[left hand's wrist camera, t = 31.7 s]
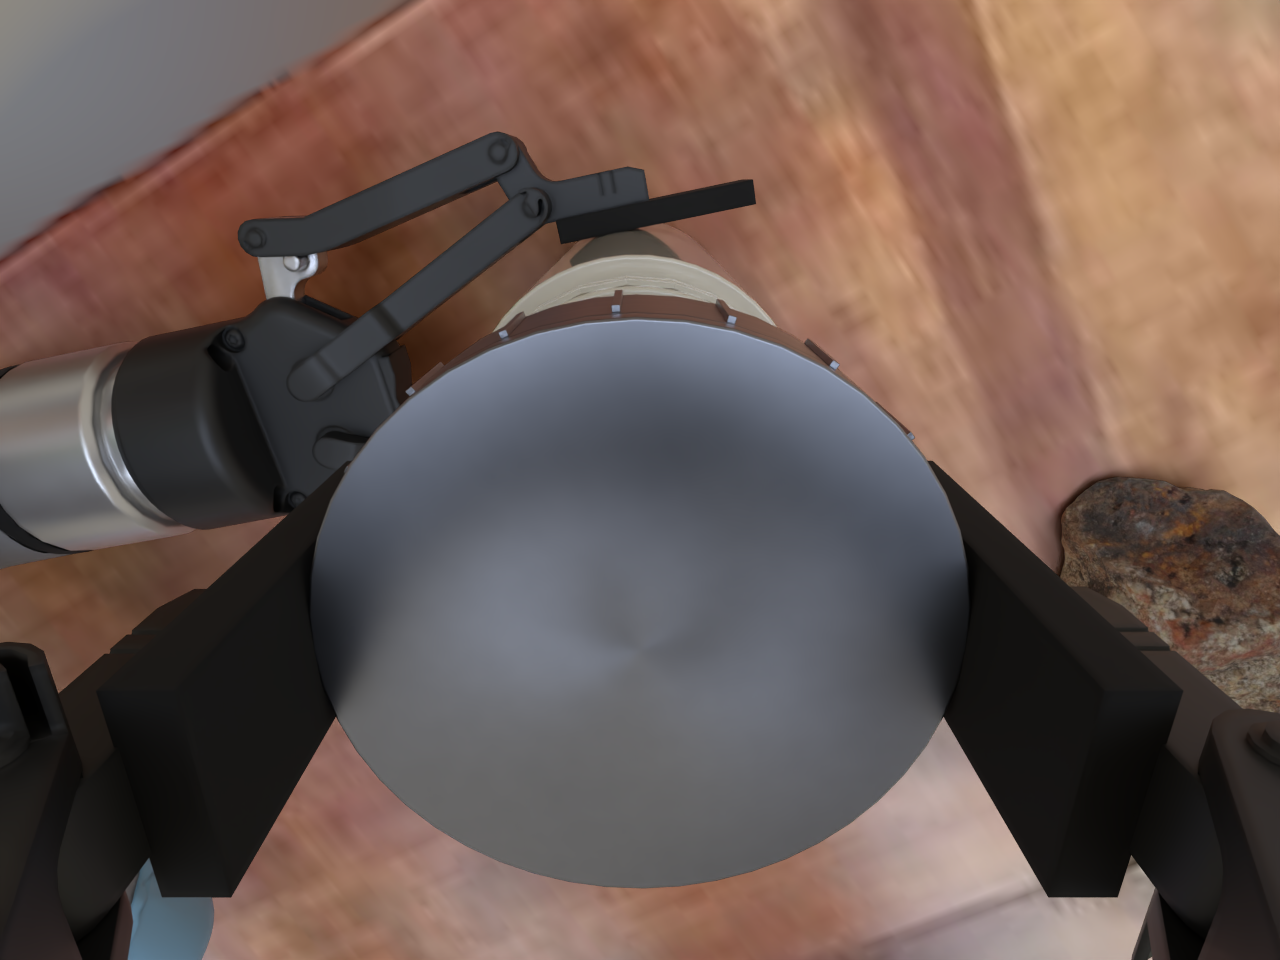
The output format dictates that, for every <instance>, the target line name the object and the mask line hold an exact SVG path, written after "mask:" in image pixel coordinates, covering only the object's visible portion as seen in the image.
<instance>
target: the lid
mask: <svg viewBox="0 0 1280 960" xmlns="http://www.w3.org/2000/svg"><path fill="white" fill-rule="evenodd" d="M839 365H840V364H839V363H838V362H837V361H835V360H834V359H833V358H832V357H831V356H829V355H828V354H827V353H826V352H825V351H824V350H822V349H821V348H820V347H819V346H818V345H817V344H815V343H814V342H813V341H812V340H810V339H807V340H806V342H805V343H803V342H802V341H801V340H799V339H798V338H796V337H795V336H793V335H791V334H789V333H787V332H785V331H783V330H781V329H779V328H777V327H775V326H773V325H771V324H769V323H767V322H765V321H763V320H761V319H759V318H757V317H754V316H751V315H748V314H745V313H742V312H740V311H737V310H734V309H731V308H729V306H728V305H727V304H726V303H725V301H724V300H720V299H717V300H716V304H714V303H709V302H703V301H698V300H693V299H688V298H683V297H676V296H658V295H640V294H633V295H623V290H615V293H614V296H608V297H595V298H590V299H586V300H581V301H576V302H572V303H567V304H562V305H558V306H554V307H551V308H548V309H545V310H543V311H540V312H537V313H534V314H532V315H529V316H525V313H524V312H520V313H518V314H517V315H515V316H514V317H513V318H512V319H511V320H510V321H509V322H508V323H507V324H506V325H505V326H504V327H502V328H500V329H498V330H496V331H495V332H493V333H491V334H489V335H487V336H485V337H483V338H481V339H480V340H478V341H477V342H476V343H474V344H473V345H471V346H470V347H469V348H467V349H466V350H465V351H463V352H462V353H460V354H459V355H458V356H456V357H455V358H454V359H452V360H451V361H449V362H448V363H447V364H446V365H445V366H444V365H443V364H442V362H439V363H438V364H437V365H436V366H434V367H433V368H432V369H431V370H430V371H429V372H427V373H426V374H425V375H424V376H423V377H421V378H420V379H419V380H418V381H417V382H416V383H414V384H413V385H412V386H411V387H410V388H409V389H407V390H406V391H405V392H406V393H407V394H408V395H409V396H410V397H409V398H408V399H407V400H405V401H404V402H403V403H402V404H401V405H400V406H399V407H398V408H397V409H396V410H395V411H394V412H393V413H392V414H391V415H390V416H389V417H388V418H387V419H386V420H385V421H384V422H383V423H382V424H381V425H380V426H379V427H378V428H377V429H376V430H375V431H374V433H373V434H372V435H371V437H370V438H369V439H368V441H367V442H366V443H365V444H364V446H363V447H362V448H361V450H360V451H359V452H358V454H357V455H356V456H355V458H354V459H353V460H352V462H351V463H350V464H349V465H348V466H347V467H346V469H345V470H344V473H345V474H344V476H343V478H342V479H341V481H340V483H339V485H338V487H337V489H336V491H335V492H334V494H333V496H332V498H331V500H330V503H329V506H328V508H327V511H326V514H325V517H324V520H323V522H322V525H321V528H320V531H319V534H318V536H317V541H316V546H315V552H314V557H313V562H312V568H311V573H310V594H309V620H310V627H311V633H312V639H313V645H314V650H315V655H316V660H317V665H318V670H319V673H320V677H321V681H322V684H323V688H324V690H325V692H326V694H327V697H328V699H329V701H330V703H331V706H332V708H333V710H334V713H335V715H336V717H337V719H338V721H339V723H340V725H341V726H342V728H343V730H344V731H345V733H346V734H347V736H348V738H349V739H350V741H351V743H352V744H353V746H354V747H355V749H356V751H357V752H358V753H359V755H360V756H361V757H362V758H363V760H364V761H365V762H366V763H367V765H368V766H369V767H370V768H371V770H372V771H373V772H374V773H375V774H376V776H377V777H378V778H379V779H380V780H381V781H382V782H383V783H384V784H385V785H386V786H387V787H388V788H389V789H390V790H391V791H392V792H393V793H394V794H395V795H396V796H397V797H398V798H399V799H400V800H401V801H402V802H403V803H404V804H405V805H407V806H408V807H409V808H410V809H412V810H413V811H414V812H416V813H417V814H418V815H420V816H421V817H422V818H423V819H425V820H426V821H427V822H429V823H430V824H431V825H433V826H434V827H435V828H437V829H439V830H440V831H442V832H444V833H445V834H447V835H449V836H450V837H452V838H454V839H455V840H457V841H459V842H460V843H462V844H464V845H465V846H467V847H469V848H472V849H474V850H476V851H478V852H480V853H482V854H484V855H487V856H489V857H491V858H493V859H495V860H497V861H500V862H502V863H505V864H508V865H511V866H514V867H517V868H520V869H523V870H526V871H528V872H531V873H534V874H539V875H543V876H547V877H551V878H555V879H560V880H564V881H568V882H574V883H582V884H589V885H596V886H603V887H622V888H658V887H675V886H685V885H691V884H698V883H704V882H711V881H717V880H721V879H725V878H728V877H732V876H736V875H740V874H744V873H748V872H752V871H755V870H757V869H760V868H763V867H766V866H768V865H771V864H774V863H776V862H779V861H782V860H785V859H787V858H789V857H791V856H793V855H795V854H797V853H799V852H801V851H803V850H806V849H808V848H810V847H812V846H814V845H816V844H818V843H820V842H821V841H823V840H824V839H826V838H828V837H829V836H831V835H832V834H834V833H836V832H837V831H839V830H840V829H842V828H844V827H845V826H847V825H848V824H850V823H851V822H852V821H854V820H855V819H856V818H857V817H859V816H860V815H861V814H862V813H864V812H865V811H866V810H868V809H869V808H870V807H871V806H873V805H874V804H875V803H876V802H878V801H879V800H880V799H881V798H882V797H883V796H884V795H885V794H886V793H887V792H888V791H889V790H890V789H891V788H892V787H893V786H894V785H895V784H896V783H897V782H898V781H899V780H900V779H901V777H902V776H903V775H904V774H905V773H906V772H907V770H908V769H909V768H910V767H911V765H912V764H913V763H914V761H915V760H916V759H917V757H918V756H919V755H920V754H921V752H922V751H923V750H924V748H925V747H926V746H927V744H928V742H929V740H930V739H931V737H932V735H933V734H934V732H935V730H936V728H937V727H938V725H939V723H940V722H941V720H942V718H943V716H944V715H945V712H946V710H947V707H948V705H949V702H950V700H951V697H952V695H953V693H954V690H955V688H956V685H957V683H958V680H959V676H960V672H961V667H962V662H963V657H964V652H965V647H966V642H967V636H968V630H969V621H970V611H971V602H970V585H969V568H968V564H967V559H966V555H965V550H964V545H963V541H962V536H961V531H960V528H959V526H958V523H957V521H956V518H955V516H954V513H953V510H952V508H951V505H950V503H949V500H948V497H947V495H946V492H945V491H944V489H943V487H942V486H941V484H940V482H939V480H938V479H937V477H936V475H935V473H934V472H933V470H932V468H931V467H930V465H929V463H928V461H927V460H926V458H925V456H924V455H923V454H922V453H921V451H920V450H919V449H918V448H917V446H916V445H915V444H914V443H913V441H912V440H913V439H914V438H915V437H914V435H913V434H912V433H911V432H910V431H909V430H908V429H907V428H906V427H905V426H904V425H902V424H901V423H900V422H899V421H898V420H897V419H896V418H894V417H893V416H892V415H891V414H890V413H889V412H888V411H886V410H885V409H884V408H883V407H882V406H881V405H880V404H879V403H877V402H874V401H873V400H872V399H871V398H870V397H869V396H868V395H867V394H866V393H865V392H864V391H862V390H861V389H860V388H859V387H858V386H857V385H856V384H855V383H853V382H852V381H851V380H850V379H849V378H848V377H847V376H846V375H844V374H843V373H842V372H841V371H840V370H839V369H838V366H839Z"/></svg>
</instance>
